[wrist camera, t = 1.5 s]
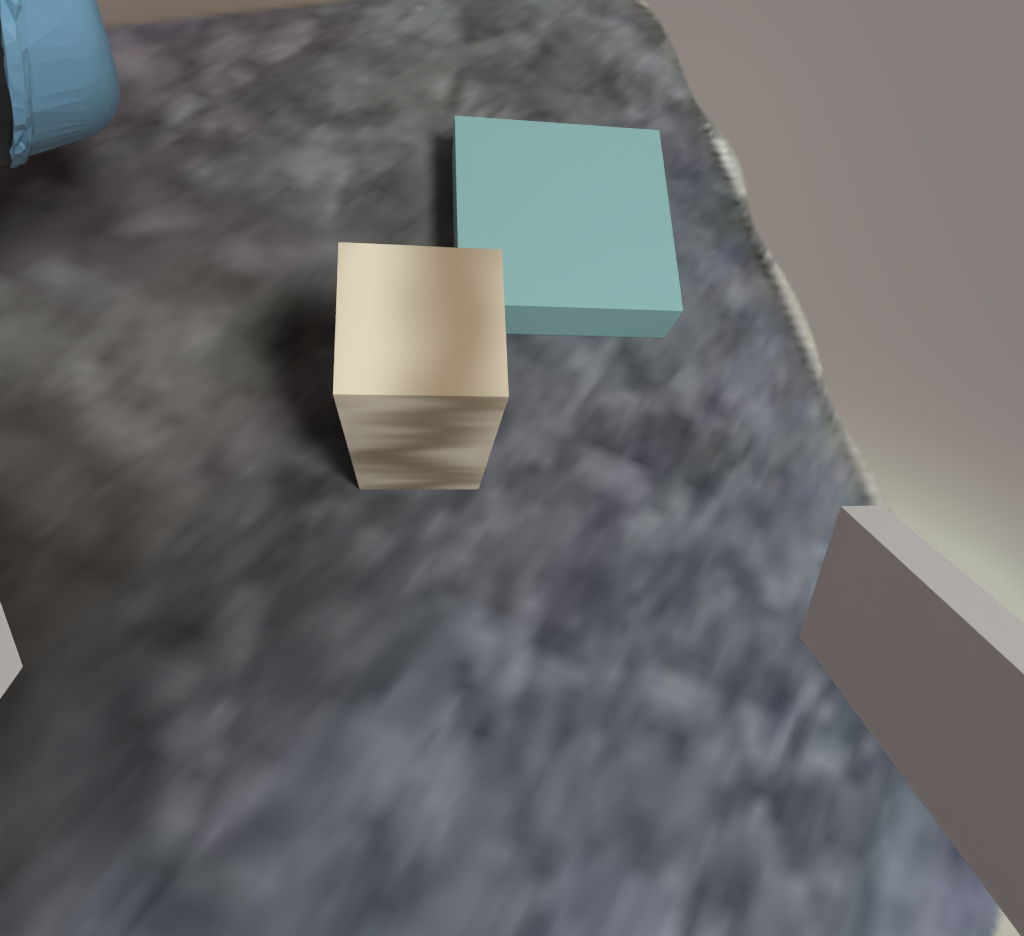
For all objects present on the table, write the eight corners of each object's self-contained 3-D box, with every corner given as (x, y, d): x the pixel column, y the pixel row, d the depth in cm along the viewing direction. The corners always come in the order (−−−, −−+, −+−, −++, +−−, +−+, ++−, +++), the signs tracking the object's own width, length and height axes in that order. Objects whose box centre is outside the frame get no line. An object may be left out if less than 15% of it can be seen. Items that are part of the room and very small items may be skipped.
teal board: (455, 332, 38) (459, 303, 35) (452, 154, 41) (454, 115, 38) (663, 337, 39) (683, 311, 37) (642, 166, 43) (659, 130, 40)
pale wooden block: (359, 489, 34) (332, 394, 23) (362, 380, 36) (338, 242, 25) (478, 489, 35) (508, 396, 24) (475, 382, 37) (501, 249, 26)
